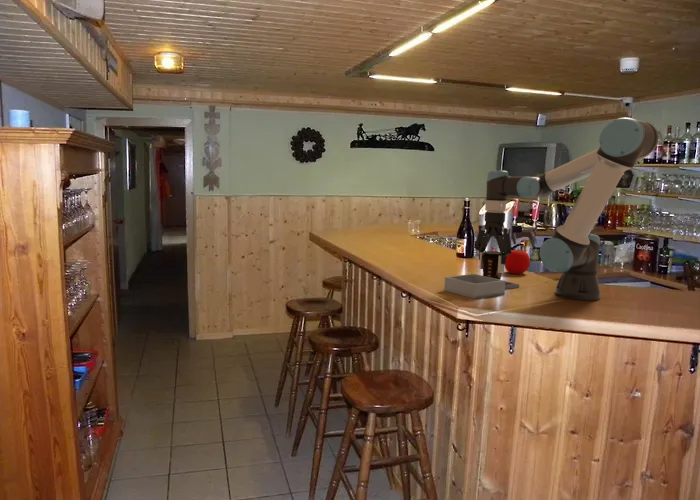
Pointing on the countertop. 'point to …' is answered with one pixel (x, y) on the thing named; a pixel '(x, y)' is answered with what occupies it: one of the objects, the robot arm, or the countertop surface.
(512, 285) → the collar
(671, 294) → the countertop surface
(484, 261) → the coffee cup
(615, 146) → the robot arm
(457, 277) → the bin
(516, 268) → the tomato
